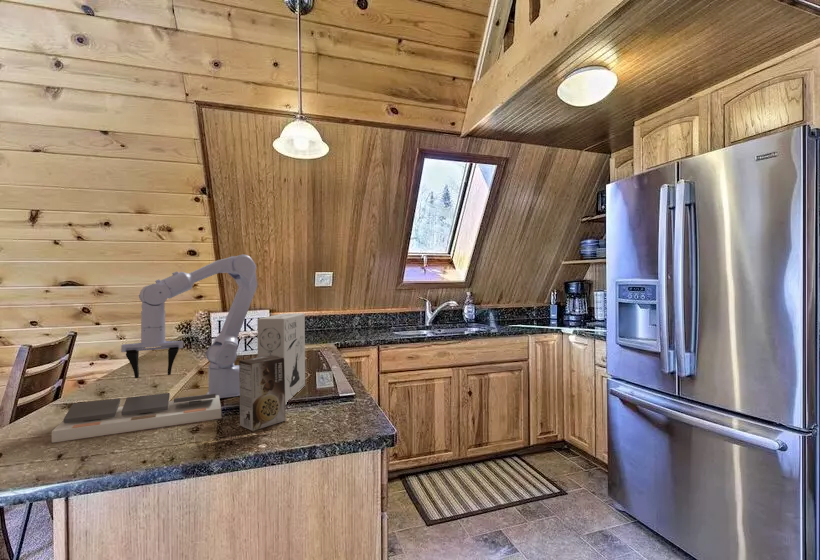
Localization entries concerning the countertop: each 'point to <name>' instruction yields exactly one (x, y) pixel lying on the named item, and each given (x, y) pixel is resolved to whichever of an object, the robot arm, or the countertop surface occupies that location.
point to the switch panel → (140, 420)
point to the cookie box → (262, 392)
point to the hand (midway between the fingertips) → (153, 375)
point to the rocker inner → (194, 398)
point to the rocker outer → (92, 410)
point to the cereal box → (285, 347)
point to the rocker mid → (146, 404)
